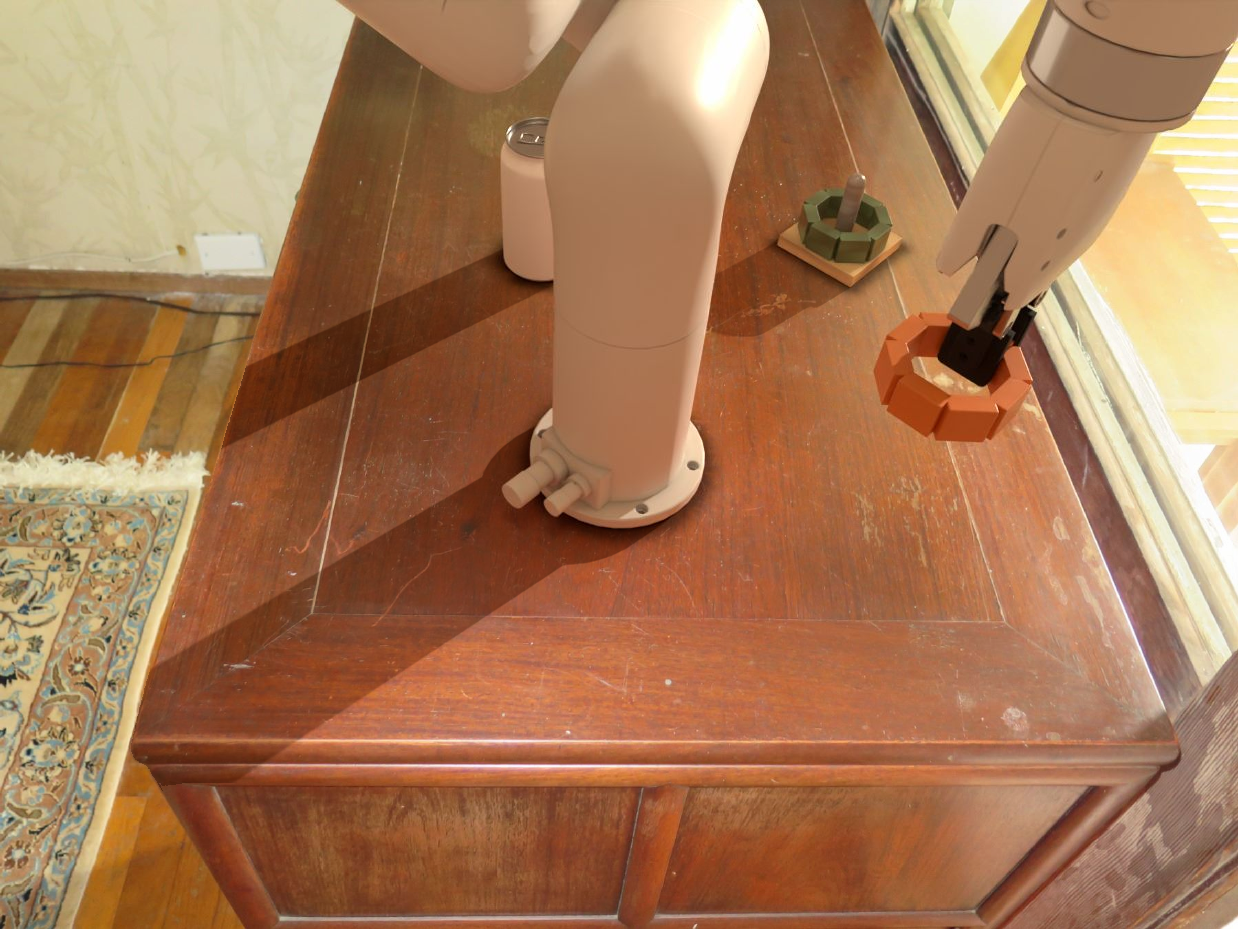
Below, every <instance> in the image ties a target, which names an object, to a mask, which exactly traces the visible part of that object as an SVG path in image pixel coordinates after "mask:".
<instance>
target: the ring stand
mask: <svg viewBox="0 0 1238 929" xmlns="http://www.w3.org/2000/svg"><path fill="white" fill-rule="evenodd" d="M866 186H867V178H866V177H865V175H864V174H862V173H861V172H854V173H852V174H851V175H850V176H848V179H847V181H846V184H845V187H844V188H837V187H836V188H835V187H834V188H833V187H831V188H830V187H825V188H824V190H823V189H820V190H818V191H816V192H815V193H813V194H812V195H810V196H809V197H808V198H807V199H805V200H804V201H803V204H802V206H801V211H800V215H799V219H798V221H796V222H795V223H794V224H792V225H791V226H790V227H788V228H787V229H786V230H784V231H783V232H782V233H780V234H779V237H778V240H777V244H776V245H777V246H778V247H780V248H781V249H783V250H785V251H786V252H788V253H790V254H791V255H793V256H795V257H797V258H798V259H800V260H802V261H803V262H805V263H807V264H808V265H810V266H812V267H814V268H816V269H818V271H821V272H823V273H824V274H826V275H828V276H830V277H831V278H833V279H835V280H837V281H838V282H840V283H842V284H843V285H845V286H847V287H849V288H851V287H853V286H854V285H855V284H857V282H859V281H860V280H861V279H862V278H864V277H865V276H866V275H867V274H869V273H871V271H872V270H874V269H875V268H876V267H877V266H879V265H880V264H881V263H883V261H885V260H886V259H887V258H889V257H890V256H891V255H893V254H894V253H895V252H896V251H897V250H899V248H900V247H901V246H900V245H901V243H902V240H903V237H901V236H900V235H898V234H896V233H894V232H892V228H893V225H894V224H893V221H892V218H891V215H890V212H889V209H888V208H887V206H886V205H885V206H884V202H882V201H880V200H879V199H877V198H874V197H873V196H871V195H869V194H867V193H865V189H866Z"/></svg>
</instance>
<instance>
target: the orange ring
mask: <svg viewBox="0 0 1238 929" xmlns="http://www.w3.org/2000/svg"><path fill="white" fill-rule="evenodd" d="M948 313H949V312H948ZM948 313H947V312H926V311H920V312H919V314H918V315H916V314H914V313H913V314H911V315H910V316H908V317H907V318H906V319H905V320H903V321H902V322H901V323H899V325H897V326H896V327H895V328H894V329H892V330H891V331H890V332H888V334H886V335H885V339H884V341H883V344H882V347H881V349H880V352H879V355H878V356H877V360H876V362H875V364H874V367H873V375H874V380H875V384H876V388H877V392H878V398H879V401H880V405H881V406H887V408H886V412H887V413H889V414H890V415H892V416H893V417H895V418H897V419H898V420H899V421H900V422H903V423H904V424H905V425H907V426H908V427H910V428H911V429H913V430H914V431H916V432H917V433H918V434H920V435H922V436H923V437H925V438H928V437H930V435H931V434H933V437H934V440H935V441H937V442H959V443H960V442H962V443H980V444H981V443H984V442H985V440H986V439H987V440H988V441H992V440H993V439H994V438H995V437H996V436H997V435H998V434H999V433H1000V432H1001V431H1002V430H1004V428H1006V426H1007V425H1008V424H1009V423H1011V421H1012V420H1014V418H1015V417H1016V416H1017V414H1018V413H1019V411H1020V409H1021V407H1022V405H1023V404H1024V402H1025V400H1026V398H1027V396H1028V394H1029V393H1030V391H1031V389H1032V383H1033V378H1032V375H1031V373H1030V372H1031V371H1030V370H1029V367H1028V365H1027V362H1026V359H1025V356H1024V353H1023V351H1022V349H1021V346H1019V347H1017V346H1012V345H1013V343H1014V341H1013V340H1012V341H1011V343H1010V345H1009V346H1008V348H1007V350H1006V352H1005V354H1004V356H1003V358H1002V360H1001V362H1000V364H999V366H998V368H997V370H996V372H995V374H994V376H993V377H992V379H991V381H990V382H989V383H988V384H987V385H986V386H987V389H988V392H989V396H984V395H962V394H949V393H947V392H946V391H945V390H943V389H941V388H939V387H938V386H937V385H935V384H933V383H932V382H930V381H929V380H928V379H926V378H924V377H922V376H921V375H920V374H918V373H916V371H915V369H914V365H913V362H912V360H913V359H914V358H916V357H918V358H935V359H936V358H937V355H938V352H939V350H940V348H941V346H942V343H943V341H944V339H945V337H946V334H947V332H948V330H949V328H950V325H951V323H952V321H951V320H949V319H948V318H947V315H948ZM937 359H938V358H937Z"/></svg>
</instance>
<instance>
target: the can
mask: <svg viewBox="0 0 1238 929" xmlns="http://www.w3.org/2000/svg"><path fill="white" fill-rule="evenodd" d="M549 119H550V117H544V116H543V117H541V116H536V117H528V118H524V119H520V120H518V121H516V122H514V123H513V124H511V125H510V126H509V127H508V128H507V130H506V131H505V135H504V140H505V141H504V142H503V144H502V146H501V149H500V156H499V157H500V160H499V161H500V163H499V164H500V192H501V193H500V194H501V195H500V196H501V226H502V250H503V260H504V263H505V266H507V268H508V269H510V271H512V272H513V273H514V274H515V275H517V276H518V277H520V278H522V279H525V280H527V281H531V282H540V283H541V282H543V283H544V282H552V281H554V247H553V229H552V219H551V211H550V206H549V200H548V195H547V189H546V183H545V175H544V142H545V136H546V130H547V126H548V123H549Z"/></svg>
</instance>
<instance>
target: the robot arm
mask: <svg viewBox="0 0 1238 929" xmlns="http://www.w3.org/2000/svg"><path fill="white" fill-rule="evenodd" d="M335 1H336V2H337V3H339V4H340V5H341V6H342V7H344V8H345V9H347V10H348V11H349V12H350V13H352V14H353V15H355V16H356V17H357V18H359V19H360V20H362V21H363V22H364V23H365V24H366V25H368V26H370V27H371V28H372V29H374V30H375V32H378V33H379V34H381V35H382V36H383V37H384V38H386V39H387V40H388V41H389V42H391V43H392V44H393V45H395V46H397V47H398V48H399V49H400V50H402V51H403V52H405V53H406V54H407V55H409V56H410V57H411V58H413V59H414V60H416V61H417V62H418V63H419V64H421V65H423V66H424V67H425V68H426V69H428V70H429V71H431V72H432V73H434V74H435V75H437V76H438V77H440V78H441V79H443V80H445V81H447V82H448V83H450V84H451V85H453V86H456V87H458V88H459V89H461V90H465V91H467V92H472V93H477V94H485V95H487V94H495V93H500V92H504V91H507V90H508V89H511V88H512V87H514V86H516V85H518V84H520V83H521V82H523V81H524V80H525V79H526V78H528V77H529V76H530V75H531V74H532V73H533V72H534V71H535V70H536V68H537V67H539V65H540V64H541V62H543V60H544V59H545V58H546V56H547V55H548V54H549V53H550V52H551V51H552V49H553V48H554V47H555V46H556V44H557V42H558V41H559V40H560V38H561V39H563V40H564V41H565V42H566V43H568V44H569V45H571V46H572V47H574V48H575V49H576V50H577V51H578V52H580V53H581V54H580V56H579V58H578V59H577V61H576V62H575V64H574V66H573V68H572V69H571V70H570V72H569V74H568V76H567V78H566V79H565V81H564V83H563V85H562V87H561V88H560V91H559V92H558V95H557V97H556V100H555V102H554V105H553V107H552V110H551V113H550V116H549V118H550V119H549V123H548V126H547V130H546V136H545V142H544V175H545V183H546V189H547V195H548V200H549V206H550V211H551V219H552V229H553V247H554V280H553V284H552V285H553V286H552V288H553V293H552V294H553V343H552V344H553V345H552V346H553V347H552V348H553V349H552V352H553V353H552V406H551V407H550V408H549V409H548V411H546V413H545V414H544V415H543V416H542V417H541V418H540V419H539V421H538V422H537V424H536V426H535V428H534V430H533V431H532V432H533V433H532V436H531V439H530V445H529V463H530V466H529V467H528V468H526V469H524V470H521V471H520V472H519V473H518V474H516V475H515V476H514V477H513V478H510V479H509V480H508V481H507V482H505V483H504V484H503V485H502V486H501V492H502V495H503V497H504V498H505V500H506V502H508V504H510V505H511V506H512V507H513V508H515V509H522V508H523V507H524V506H525V505H527V504H528V503H529V502H531V501H532V500H533V499H534V498H536V497H537V496H538V495H540V493H542V495H543V496H544V497H545V499H544V500H543V506H544V508H545V510H546V511H547V512H548V513H549V514H550V515H551V516H553V517H556V518H557V517H559V516H560V515H561V514H563V513H564V514H566V515H567V516H570V517H572V518H574V519H576V520H578V521H580V522H584V523H587V524H589V525H594V526H596V527H604V528H611V529H633V528H638V527H645V526H649V525H653V524H655V523H658V522H661V521H663V520H665V519H667V518H669V517H671V516H672V515H674V514H676V513H677V512H679V511H680V510H681V509H683V507H684V506H686V505H688V503H689V502H690V501H691V499H692V498H693V496H694V495H695V494H696V492H697V491H698V488H699V486H700V485H701V484H700V483H701V482H702V478H703V474H704V469H705V459H706V458H705V456H706V455H705V454H706V453H705V448H704V442H703V440H702V436H700V433H699V431H698V428H696V426H695V424H694V423H693V422H692V421H691V416H692V411H693V405H694V401H695V395H696V389H697V383H698V377H699V372H700V367H701V360H702V356H703V351H704V350H703V349H704V343H705V339H706V333H707V329H708V328H707V327H708V321H709V314H710V309H711V301H712V295H713V289H714V285H715V284H714V283H715V278H716V271H717V265H718V257H719V250H720V242H721V241H720V240H721V232H722V231H721V230H722V222H723V216H724V215H723V214H724V210H725V204H726V200H727V196H728V192H729V187H730V184H731V179H732V176H733V172H734V168H735V166H736V165H735V164H736V162H737V158H738V155H739V152H740V149H741V146H742V144H743V140H744V138H745V135H746V133H747V130H748V128H749V125H750V121H751V117H752V114H753V112H754V108H755V106H756V103H757V101H758V98H759V96H760V93H761V89H762V87H763V84H764V81H765V77H766V75H767V70H768V65H769V61H770V60H769V59H770V49H771V48H770V47H771V45H770V44H771V43H770V32H769V27H768V23H767V20H766V16H765V13H764V10H763V9H762V6H761V4H760V3H759V1H758V0H335ZM1237 40H1238V0H1046V2H1045V5H1044V7H1043V10H1042V12H1041V15H1040V17H1039V19H1038V22H1037V24H1036V28H1035V30H1034V32H1033V34H1032V37H1031V39H1030V42H1029V44H1028V47H1027V50H1026V51H1025V54H1024V56H1023V58H1022V61H1021V64H1020V71H1021V72H1020V73H1021V76H1022V78H1023V81H1024V83H1025V85H1024V86H1023V88H1022V89H1021V90H1020V91H1019V93H1018V94H1017V96H1016V98H1015V99H1014V101H1013V102H1012V104H1011V106H1010V108H1009V109H1008V111H1007V113H1006V115H1005V116H1004V118H1003V120H1002V121H1001V123H1000V125H999V127H998V129H997V130H996V132H995V134H994V136H993V138H992V139H991V141H990V143H989V145H988V147H987V149H986V151H985V153H984V156H983V157H982V159H981V161H980V163H979V165H978V167H977V169H976V171H975V174H974V176H973V178H972V179H971V182H970V184H969V186H968V188H967V190H966V193H965V194H964V197H963V199H962V201H961V203H960V205H959V208H958V210H957V212H956V214H955V216H954V218H953V220H952V223H951V225H950V226H949V230H948V231H947V233H946V236H945V238H944V241H943V242H942V245H941V247H940V249H939V252H938V254H937V257H936V259H935V266H936V270H937V272H938V273H940V274H943V275H946V276H947V277H949V278H951V277H952V276H953V275H954V274H956V273H957V272H958V271H959V270H961V269H962V268H963V267H964V266H965V265H967V264H968V263H969V262H970V261H972V260H973V259H974V258H976V257H977V256H979V257H978V259H977V261H976V263H975V265H974V268H973V269H972V271H971V273H970V274H969V276H968V277H967V280H966V282H965V283H964V285H963V286H962V288H961V290H960V292H959V293H958V295H957V297H956V299H955V300H954V302H953V303H952V306H951V307H950V309H949V311H948V315H947V318H948V319H949V320H951V321H952V323H951V325H950V328H949V330H948V332H947V334H946V337H945V339H944V341H943V343H942V346H941V348H940V350H939V352H938V355H937V361H938V362H939V363H941V364H942V365H943V366H945V367H946V368H948V369H950V370H952V371H953V372H954V373H955V374H958V375H960V376H961V377H963V378H964V379H966V380H967V381H969V382H971V383H973V384H974V385H975V386H977V387H979V388H985V387H986V386H987V384H988V383H989V382H990V381H991V379H992V377H993V376H994V374H995V372H996V370H997V368H998V366H999V364H1000V362H1001V360H1002V358H1003V356H1004V354H1005V352H1006V350H1007V348H1008V346H1009V345H1010V343H1011V341H1012V340H1013V341H1014V343H1013V345H1012V346H1017V347H1021V344H1022V343H1023V341H1024V339H1025V337H1026V335H1027V333H1028V331H1029V330H1030V328H1031V325H1032V324H1033V322H1034V320H1035V319H1036V316H1037V314H1038V312H1037V311H1035V310H1034V309H1036V308H1038V307H1039V306H1040V304H1041V303H1042V302H1043V300H1044V299H1045V297H1046V296H1047V294H1048V293H1049V290H1050V288H1051V287H1052V285H1053V283H1054V282H1055V280H1057V279H1058V278H1059V277H1060V276H1061V275H1062V274H1063V273H1065V272H1066V271H1067V270H1068V269H1069V268H1070V267H1071V266H1072V265H1073V264H1074V263H1076V262H1077V260H1078V259H1080V258H1081V257H1082V256H1083V255H1084V254H1085V253H1086V252H1087V251H1088V250H1089V249H1090V248H1091V247H1092V246H1093V244H1095V242H1096V241H1097V240H1098V239H1099V237H1100V236H1101V235H1102V233H1103V232H1104V231H1105V229H1106V228H1107V226H1108V224H1109V223H1110V221H1111V220H1112V219H1113V217H1114V215H1115V213H1116V212H1117V210H1118V208H1119V207H1120V205H1121V203H1122V202H1123V200H1124V198H1125V196H1126V195H1127V193H1128V191H1129V190H1130V187H1131V185H1132V183H1134V180H1135V178H1136V176H1137V175H1138V173H1139V171H1140V170H1141V168H1142V165H1143V164H1144V162H1145V159H1146V158H1147V156H1148V153H1149V152H1150V150H1151V148H1152V146H1153V144H1154V142H1155V140H1156V138H1157V136H1158V134H1159V133H1160V134H1161V133H1164V132H1167V131H1173V130H1174V131H1175V130H1176V129H1177V130H1178V129H1179V128H1182V127H1183V126H1185V125H1187V123H1189V122H1190V121H1191V120H1192V119H1193V117H1194V115H1195V114H1196V112H1197V110H1198V109H1199V106H1200V104H1201V103H1202V101H1203V99H1204V98H1205V96H1206V94H1207V92H1208V90H1209V88H1210V87H1211V86H1212V84H1213V82H1214V80H1215V78H1216V76H1217V75H1218V73H1219V71H1220V70H1221V68H1222V66H1223V64H1224V63H1225V61H1226V59H1227V58H1228V55H1229V54H1230V52H1231V50H1232V48H1233V47H1234V45H1235V44H1236V42H1237ZM1028 306H1030V307H1032V308H1033V309H1032V308H1030V307H1028Z"/></svg>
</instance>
